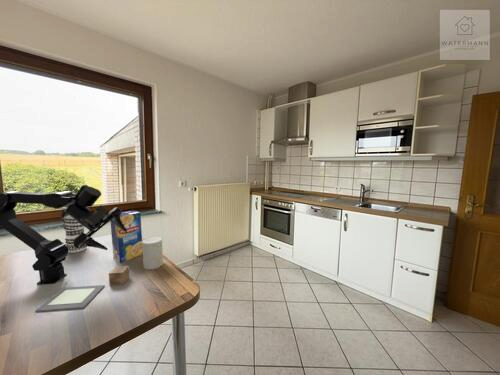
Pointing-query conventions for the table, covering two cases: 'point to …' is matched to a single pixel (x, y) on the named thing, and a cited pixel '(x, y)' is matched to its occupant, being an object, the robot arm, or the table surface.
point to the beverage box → (127, 237)
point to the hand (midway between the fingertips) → (117, 240)
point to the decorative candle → (72, 232)
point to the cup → (152, 252)
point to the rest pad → (71, 298)
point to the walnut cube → (119, 275)
